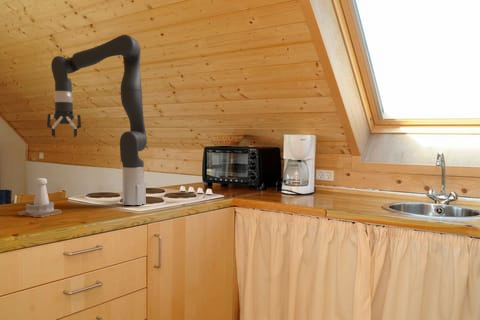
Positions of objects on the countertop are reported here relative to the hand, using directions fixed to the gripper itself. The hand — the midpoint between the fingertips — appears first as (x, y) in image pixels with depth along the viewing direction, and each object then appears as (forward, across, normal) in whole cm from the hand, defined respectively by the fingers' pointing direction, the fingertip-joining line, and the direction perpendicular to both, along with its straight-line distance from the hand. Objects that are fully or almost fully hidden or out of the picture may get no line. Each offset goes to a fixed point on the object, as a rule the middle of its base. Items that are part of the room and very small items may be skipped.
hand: (64, 137), depth 184 cm
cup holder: (+30, +11, +24) cm, 40 cm away
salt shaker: (+29, +11, +23) cm, 39 cm away
